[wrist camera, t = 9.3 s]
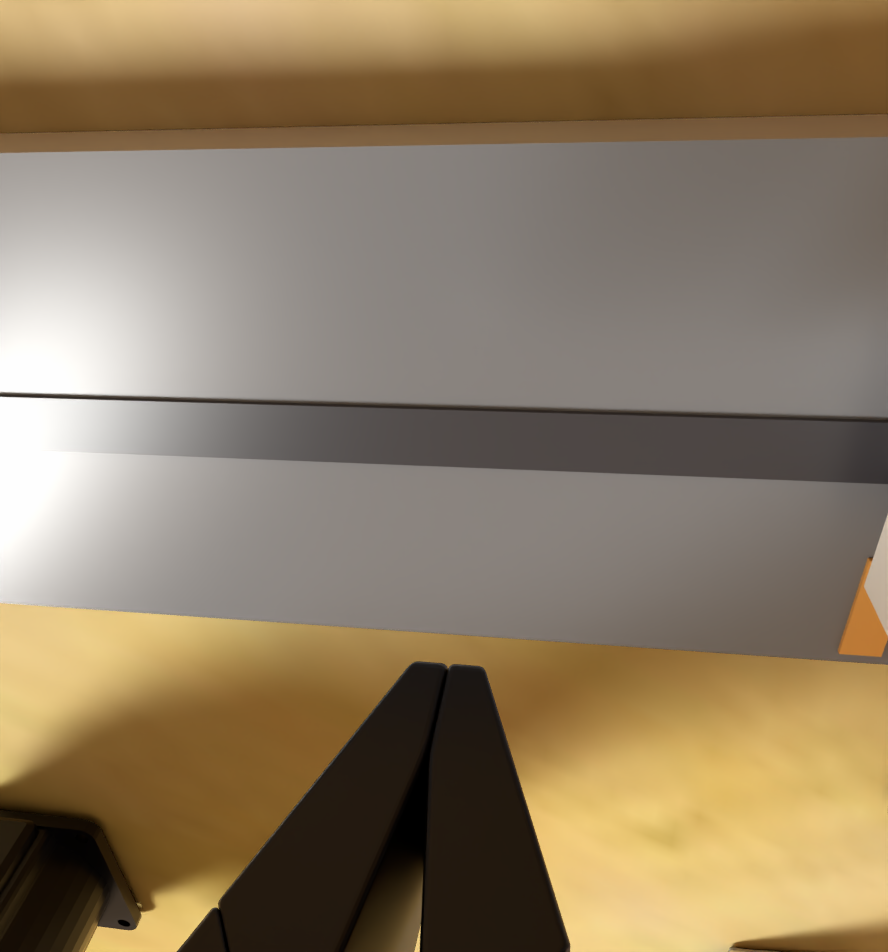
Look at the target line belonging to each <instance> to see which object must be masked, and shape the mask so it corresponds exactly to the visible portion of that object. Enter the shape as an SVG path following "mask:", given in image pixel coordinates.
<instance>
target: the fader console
mask: <svg viewBox="0 0 888 952" xmlns="http://www.w3.org/2000/svg"><path fill="white" fill-rule="evenodd" d="M887 515H888V114H861V115H815V116H770V117H724V118H678V119H633V120H587V121H542V122H496V123H450V124H405V125H359V126H313V127H268V128H222V129H176V130H131V131H85V132H40V133H0V603H8V604H22V605H37V606H51V607H66V608H80V609H94V610H109V611H123V612H138V613H152V614H166V615H181V616H195V617H209V618H224V619H238V620H253V621H267V622H281V623H296V624H310V625H325V626H339V627H353V628H368V629H382V630H396V631H411V632H425V633H440V634H454V635H468V636H483V637H497V638H512V639H526V640H540V641H555V642H569V643H583V644H598V645H612V646H627V647H641V648H655V649H670V650H684V651H699V652H713V653H727V654H742V655H756V656H770V657H785V658H799V659H814V660H828V661H842V662H857V663H871V664H886V665H888V636H887V634H886V632H885V630H884V628H883V626H882V624H881V621H880V619H879V617H878V615H877V613H876V611H875V609H874V607H873V605H872V603H871V600H870V598H869V596H868V594H867V592H866V590H865V588H864V584H865V581H866V578H867V575H868V572H869V569H870V566H871V563H872V560H873V557H874V554H875V551H876V548H877V545H878V542H879V539H880V536H881V533H882V530H883V527H884V524H885V521H886V518H887Z"/></svg>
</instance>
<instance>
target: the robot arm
mask: <svg viewBox="0 0 888 952" xmlns="http://www.w3.org/2000/svg"><path fill="white" fill-rule="evenodd" d="M218 906H219V909H218V908H212V909H211V910H210V912H209V913H208V914H207V915H206V917H205V918H204V919H203V920H202V922H201V923H200V924H199V925H198V926H197V928H196V929H195V930H194V931H193V933H192V934H191V935H190V936H189V938H188V939H187V940H186V941H185V943H184V944H183V945H182V946H181V947H180V948H179V950H178V951H177V952H414V950H415V946H416V942H417V937H418V933H419V929H420V925H421V934H420V952H570V942H569V939H568V936H567V932H566V929H565V926H564V923H563V920H562V916H561V913H560V910H559V907H558V903H557V900H556V897H555V894H554V891H553V887H552V884H551V881H550V878H549V874H548V871H547V868H546V865H545V861H544V858H543V855H542V852H541V849H540V845H539V842H538V839H537V836H536V832H535V829H534V826H533V823H532V820H531V816H530V813H529V810H528V807H527V803H526V800H525V797H524V794H523V791H522V787H521V784H520V781H519V778H518V774H517V771H516V768H515V765H514V761H513V758H512V755H511V752H510V749H509V745H508V742H507V739H506V736H505V732H504V729H503V726H502V723H501V720H500V716H499V713H498V710H497V707H496V703H495V700H494V697H493V694H492V690H491V687H490V684H489V681H488V678H487V674H486V672H485V670H484V669H483V668H482V667H480V666H471V665H458V664H454V665H451V666H450V667H449V668H447V666H446V665H445V664H442V663H431V662H414V663H412V664H411V665H410V666H409V667H408V668H407V669H406V670H405V671H404V673H403V674H402V675H401V676H400V678H399V679H398V680H397V681H396V683H395V684H394V685H393V686H392V687H391V689H390V690H389V691H388V692H387V694H386V695H385V696H384V697H383V699H382V700H381V701H380V702H379V704H378V705H377V706H376V707H375V708H374V710H373V711H372V712H371V713H370V715H369V716H368V717H367V718H366V720H365V721H364V722H363V723H362V724H361V726H360V727H359V728H358V729H357V731H356V732H355V733H354V734H353V736H352V737H351V738H350V739H349V741H348V742H347V743H346V744H345V745H344V747H343V748H342V749H341V750H340V752H339V753H338V754H337V755H336V757H335V758H334V759H333V760H332V762H331V763H330V764H329V765H328V766H327V768H326V769H325V770H324V771H323V773H322V774H321V775H320V776H319V778H318V779H317V780H316V781H315V783H314V784H313V785H312V786H311V787H310V789H309V790H308V791H307V792H306V794H305V795H304V796H303V797H302V799H301V800H300V801H299V802H298V804H297V805H296V806H295V807H294V808H293V810H292V811H291V812H290V813H289V815H288V816H287V817H286V818H285V820H284V821H283V822H282V823H281V824H280V826H279V827H278V828H277V829H276V831H275V832H274V833H273V834H272V836H271V837H270V838H269V839H268V841H267V842H266V843H265V844H264V845H263V847H262V848H261V849H260V850H259V852H258V853H257V854H256V855H255V857H254V858H253V859H252V860H251V862H250V863H249V864H248V865H247V866H246V868H245V869H244V870H243V871H242V873H241V874H240V875H239V876H238V878H237V879H236V880H235V881H234V883H233V884H232V885H231V886H230V887H229V889H228V890H227V891H226V892H225V894H224V895H223V896H222V897H221V899H220V900H219V902H218ZM140 919H141V913H140V911H139V909H138V907H137V904H136V902H135V900H134V898H133V896H132V894H131V892H130V890H129V887H128V885H127V883H126V881H125V879H124V877H123V875H122V873H121V870H120V868H119V866H118V864H117V862H116V860H115V858H114V856H113V853H112V851H111V849H110V847H109V845H108V843H107V841H106V839H105V837H104V834H103V832H102V830H101V829H100V827H99V826H98V825H96V824H95V823H93V822H91V821H89V820H84V819H76V818H67V817H58V816H49V815H39V814H30V813H21V812H12V811H3V810H0V952H85V950H86V948H87V946H88V944H89V942H90V940H91V938H92V936H93V934H94V932H95V930H96V928H97V926H100V927H108V928H116V929H123V930H134V929H136V927H137V925H138V923H139V921H140Z"/></svg>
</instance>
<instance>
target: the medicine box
mask: <svg viewBox="0 0 888 952" xmlns="http://www.w3.org/2000/svg"><path fill="white" fill-rule="evenodd" d="M728 952H779V951H764V950H750V949H741V948H733V947H732V948H729V951H728Z"/></svg>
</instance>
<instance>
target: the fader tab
mask: <svg viewBox="0 0 888 952" xmlns="http://www.w3.org/2000/svg"><path fill="white" fill-rule="evenodd" d="M864 588H865V590H866V592H867V594H868V596H869V598H870V600H871V603H872V605H873V607H874V609H875V611H876V613H877V615H878V617H879V619H880V621H881V624H882V626H883V628H884V630H885V632H886V634H887V636H888V515H887V518H886V521H885V524H884V527H883V530H882V533H881V536H880V539H879V542H878V545H877V548H876V551H875V554H874V557H873V560H872V563H871V566H870V569H869V572H868V575H867V578H866V581H865V584H864Z"/></svg>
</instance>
